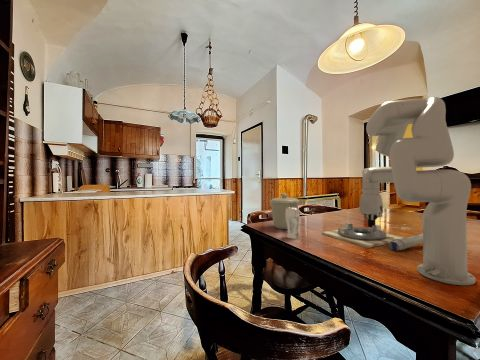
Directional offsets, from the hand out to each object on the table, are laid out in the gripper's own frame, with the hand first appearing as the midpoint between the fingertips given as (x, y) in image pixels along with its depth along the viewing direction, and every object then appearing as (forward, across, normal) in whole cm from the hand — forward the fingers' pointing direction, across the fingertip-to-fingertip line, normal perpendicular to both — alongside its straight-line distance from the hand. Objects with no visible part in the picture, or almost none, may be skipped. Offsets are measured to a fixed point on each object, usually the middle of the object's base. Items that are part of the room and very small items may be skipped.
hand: (371, 227), depth 112 cm
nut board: (+3, +1, -9) cm, 10 cm away
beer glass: (+4, -14, -39) cm, 42 cm away
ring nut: (+2, +1, -9) cm, 10 cm away
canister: (+4, -34, -30) cm, 46 cm away
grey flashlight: (+4, +22, -4) cm, 23 cm away
